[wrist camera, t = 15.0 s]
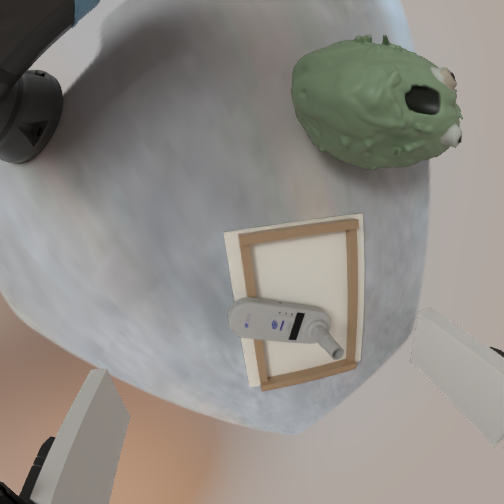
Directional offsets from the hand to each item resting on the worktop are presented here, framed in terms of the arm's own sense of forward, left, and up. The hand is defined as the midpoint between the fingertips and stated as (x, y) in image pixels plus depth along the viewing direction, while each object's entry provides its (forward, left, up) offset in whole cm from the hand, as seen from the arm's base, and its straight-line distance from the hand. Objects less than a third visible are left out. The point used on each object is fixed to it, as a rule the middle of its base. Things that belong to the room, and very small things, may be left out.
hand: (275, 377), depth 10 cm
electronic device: (+12, +5, -27) cm, 30 cm away
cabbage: (-15, +17, -29) cm, 37 cm away
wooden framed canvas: (+12, +9, -29) cm, 32 cm away
